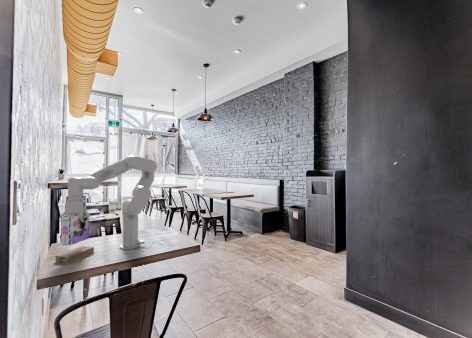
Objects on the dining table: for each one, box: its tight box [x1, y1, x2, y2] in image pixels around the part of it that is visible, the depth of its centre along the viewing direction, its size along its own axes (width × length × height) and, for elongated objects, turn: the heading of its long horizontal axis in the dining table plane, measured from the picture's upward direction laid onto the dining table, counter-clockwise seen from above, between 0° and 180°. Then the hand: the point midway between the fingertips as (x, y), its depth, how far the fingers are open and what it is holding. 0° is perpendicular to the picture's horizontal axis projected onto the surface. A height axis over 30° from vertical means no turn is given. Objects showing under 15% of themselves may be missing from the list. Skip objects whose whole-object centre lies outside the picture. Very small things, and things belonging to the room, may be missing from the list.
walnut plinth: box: [55, 245, 95, 265], centre depth 140 cm, size 9×17×4 cm, turn 166°
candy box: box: [60, 211, 90, 246], centre depth 139 cm, size 14×6×16 cm, turn 169°
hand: (75, 228), depth 139 cm, fingers closed on candy box, 7 cm apart
